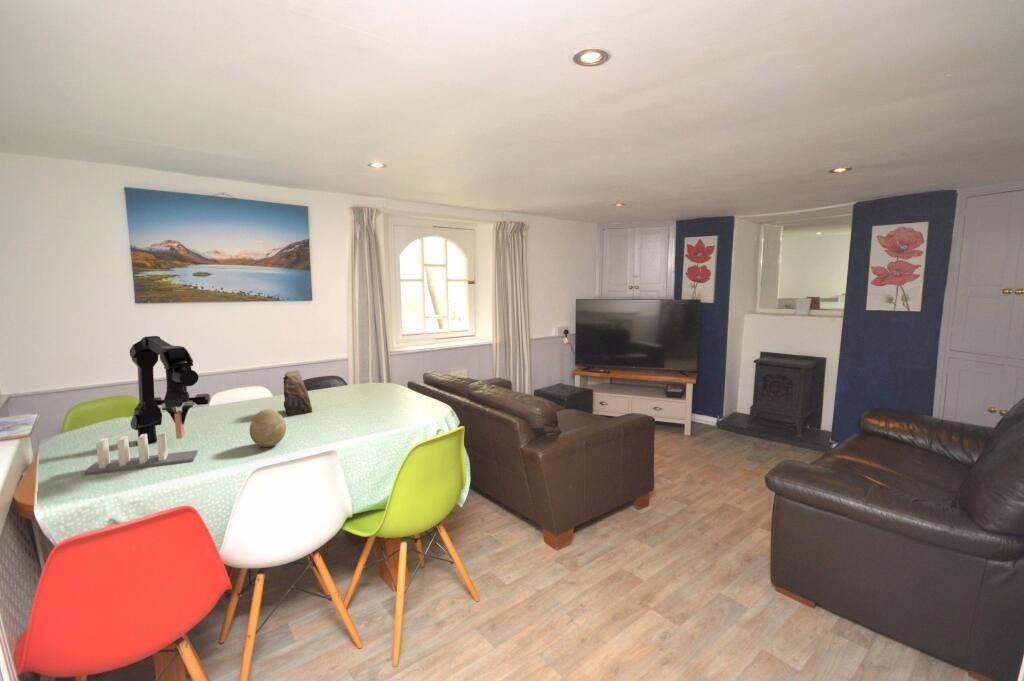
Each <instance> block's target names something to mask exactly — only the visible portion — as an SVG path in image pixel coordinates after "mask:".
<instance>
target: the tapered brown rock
mask: <svg viewBox="0 0 1024 681" xmlns="http://www.w3.org/2000/svg"><path fill="white" fill-rule="evenodd" d="M283 396H284V401H283V408H284V411H285V415H286V416H287V417H294V416H300V415H307V414H312V413H313V407H312V403H311V399H310V396H309V392H308V390H307V388H306V385H305V382H304V380H303V377H302V374H301V373H300V371H299V370H296V371H287V372H286V373H285V374H284V377H283Z"/></svg>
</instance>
